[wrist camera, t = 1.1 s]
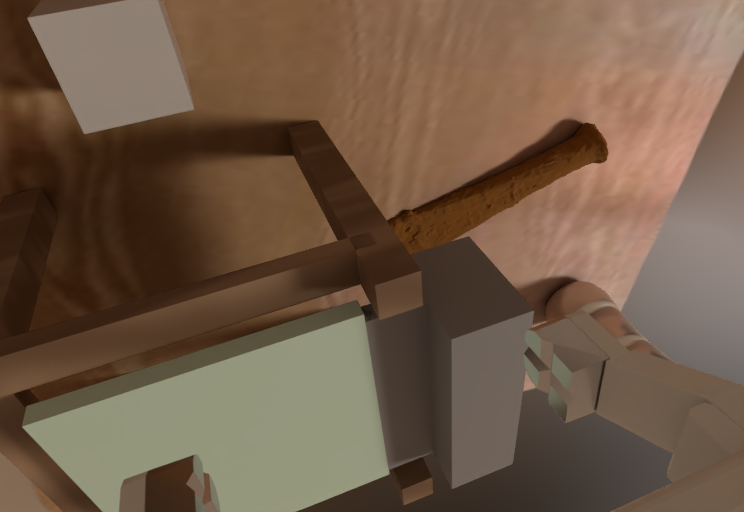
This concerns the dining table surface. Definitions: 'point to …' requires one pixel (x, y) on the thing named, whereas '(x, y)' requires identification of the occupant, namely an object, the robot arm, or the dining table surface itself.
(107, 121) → the light grey block
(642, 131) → the dining table surface
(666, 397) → the robot arm
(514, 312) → the trapdoor
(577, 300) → the plastic bottle
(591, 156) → the primitive tool
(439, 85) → the dining table surface
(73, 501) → the stand
